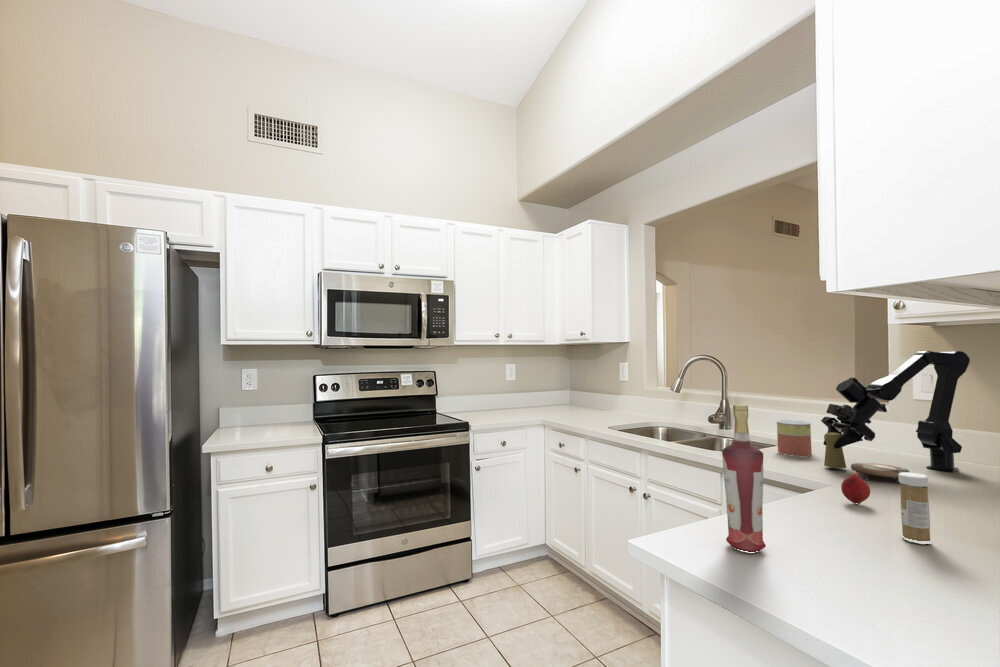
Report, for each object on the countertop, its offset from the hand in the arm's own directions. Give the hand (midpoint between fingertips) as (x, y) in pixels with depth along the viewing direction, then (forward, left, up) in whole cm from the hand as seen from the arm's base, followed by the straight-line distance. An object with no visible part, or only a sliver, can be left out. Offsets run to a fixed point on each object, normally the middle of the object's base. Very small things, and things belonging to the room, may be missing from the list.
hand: (829, 446), depth 156 cm
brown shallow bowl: (+1, +14, -7) cm, 16 cm away
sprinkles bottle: (+55, +38, -8) cm, 67 cm away
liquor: (+87, +21, -8) cm, 90 cm away
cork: (-1, +1, -7) cm, 7 cm away
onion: (+37, +21, -8) cm, 43 cm away
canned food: (-17, -19, -8) cm, 27 cm away
